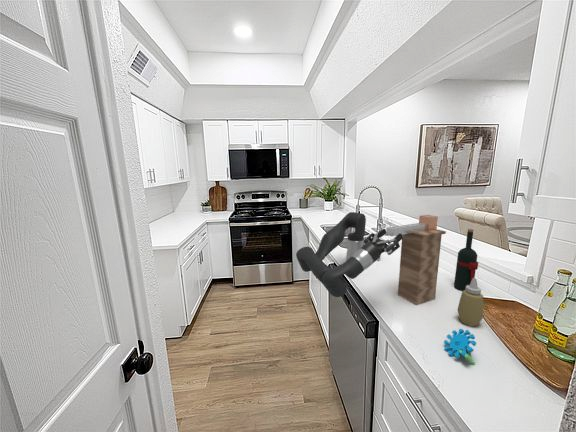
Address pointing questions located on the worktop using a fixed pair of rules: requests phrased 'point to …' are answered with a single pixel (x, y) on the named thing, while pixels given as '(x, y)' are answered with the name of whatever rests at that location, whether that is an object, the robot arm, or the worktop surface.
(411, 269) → the shelf post
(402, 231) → the copper head mallet
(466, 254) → the wine bottle
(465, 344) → the blue flower
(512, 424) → the worktop surface
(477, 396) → the worktop surface
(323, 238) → the robot arm
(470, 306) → the squeeze bottle
